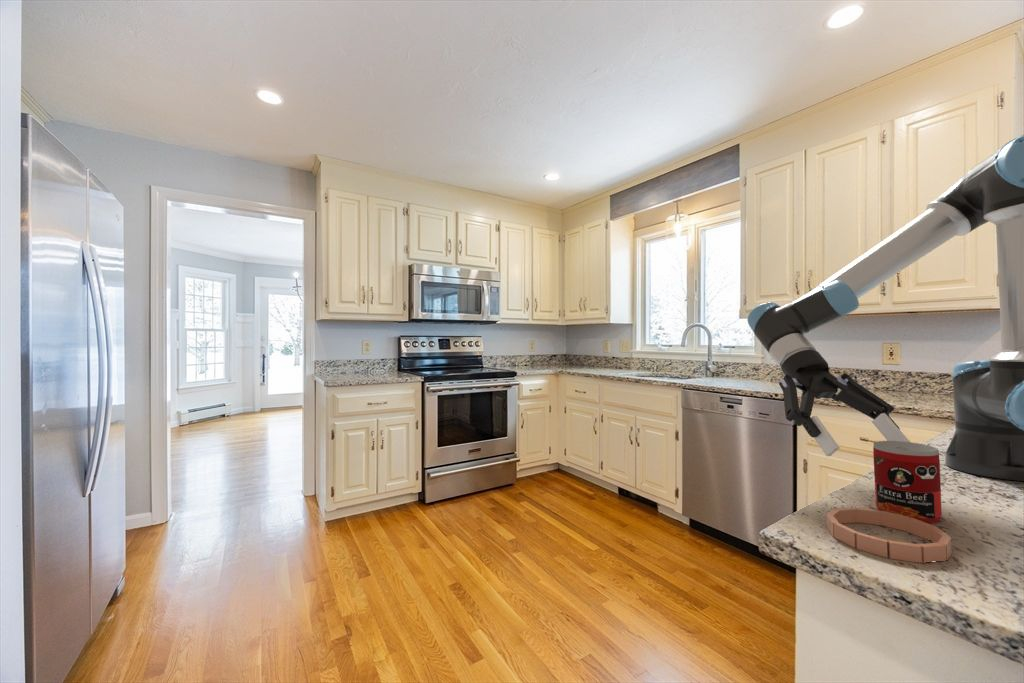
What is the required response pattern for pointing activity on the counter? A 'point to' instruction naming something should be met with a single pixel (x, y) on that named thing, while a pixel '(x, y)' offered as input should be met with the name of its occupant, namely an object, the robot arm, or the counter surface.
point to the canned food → (908, 479)
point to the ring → (886, 548)
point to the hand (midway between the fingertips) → (869, 450)
